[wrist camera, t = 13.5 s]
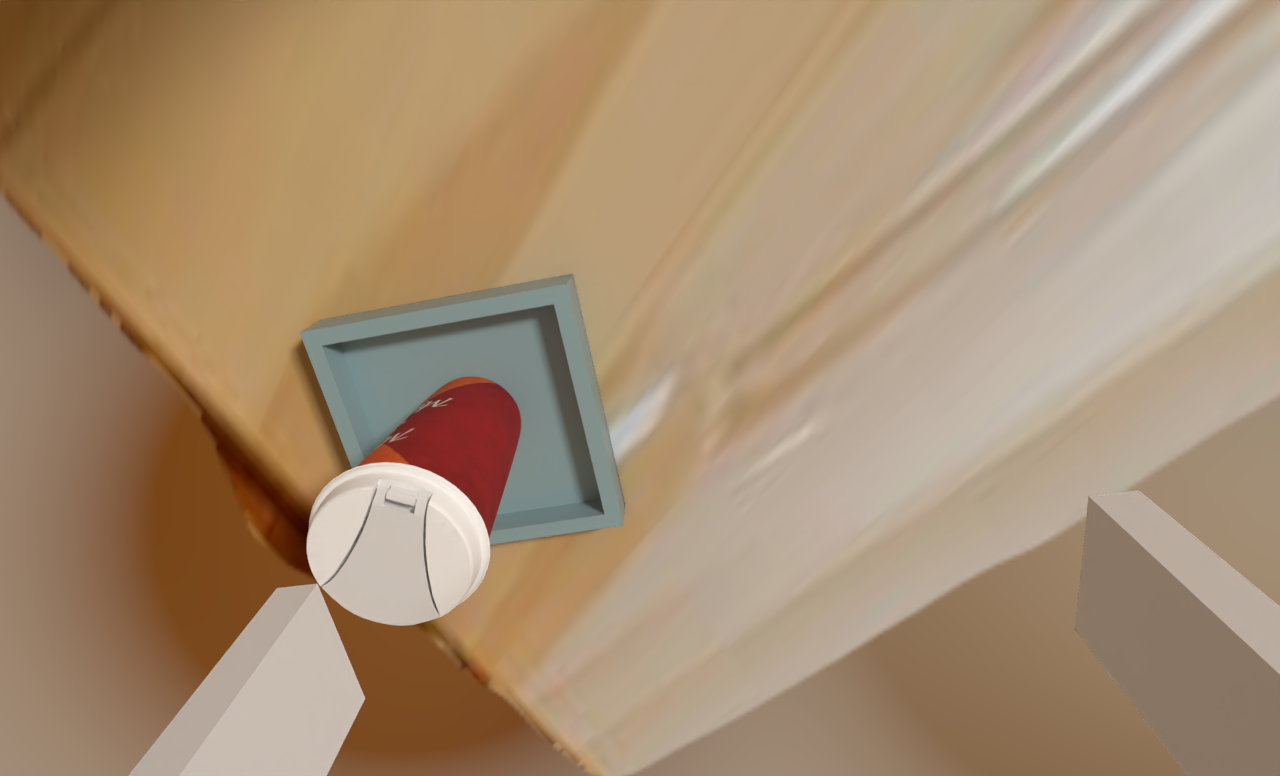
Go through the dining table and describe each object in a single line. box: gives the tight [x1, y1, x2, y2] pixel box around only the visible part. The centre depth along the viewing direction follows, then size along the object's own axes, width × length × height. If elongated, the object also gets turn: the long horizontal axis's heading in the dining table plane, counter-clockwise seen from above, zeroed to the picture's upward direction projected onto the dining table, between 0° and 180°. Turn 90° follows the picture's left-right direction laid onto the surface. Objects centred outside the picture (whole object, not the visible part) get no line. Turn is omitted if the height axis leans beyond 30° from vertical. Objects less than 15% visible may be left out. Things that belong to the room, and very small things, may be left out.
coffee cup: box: [307, 377, 521, 626], centre depth 37 cm, size 8×8×15 cm
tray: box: [300, 274, 625, 545], centre depth 43 cm, size 16×16×3 cm
